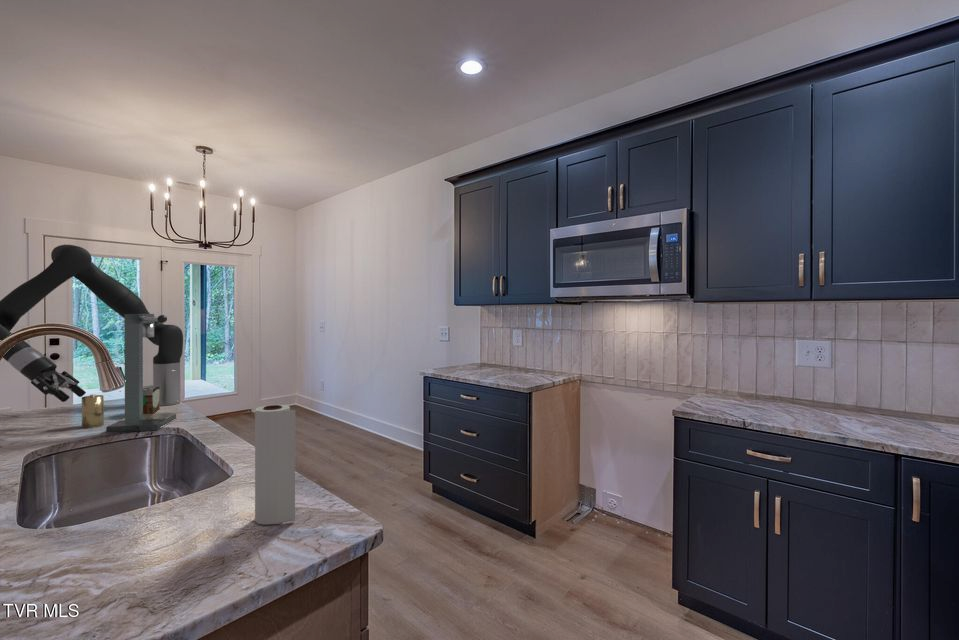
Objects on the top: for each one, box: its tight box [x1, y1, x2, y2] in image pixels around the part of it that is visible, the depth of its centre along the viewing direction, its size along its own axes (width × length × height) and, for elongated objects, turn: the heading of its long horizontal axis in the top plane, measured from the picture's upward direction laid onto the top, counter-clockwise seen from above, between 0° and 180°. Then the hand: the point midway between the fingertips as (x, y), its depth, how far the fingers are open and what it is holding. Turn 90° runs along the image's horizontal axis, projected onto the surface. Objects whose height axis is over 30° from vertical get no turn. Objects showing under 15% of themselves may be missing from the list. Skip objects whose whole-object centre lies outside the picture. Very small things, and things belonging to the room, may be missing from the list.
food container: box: [143, 384, 161, 414], centre depth 163 cm, size 12×6×10 cm, turn 25°
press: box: [105, 313, 177, 433], centre depth 147 cm, size 15×16×38 cm
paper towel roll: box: [254, 404, 296, 526], centre depth 82 cm, size 7×6×21 cm
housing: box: [81, 394, 105, 429], centre depth 146 cm, size 6×6×11 cm
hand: (75, 397), depth 144 cm, fingers open, 8 cm apart
